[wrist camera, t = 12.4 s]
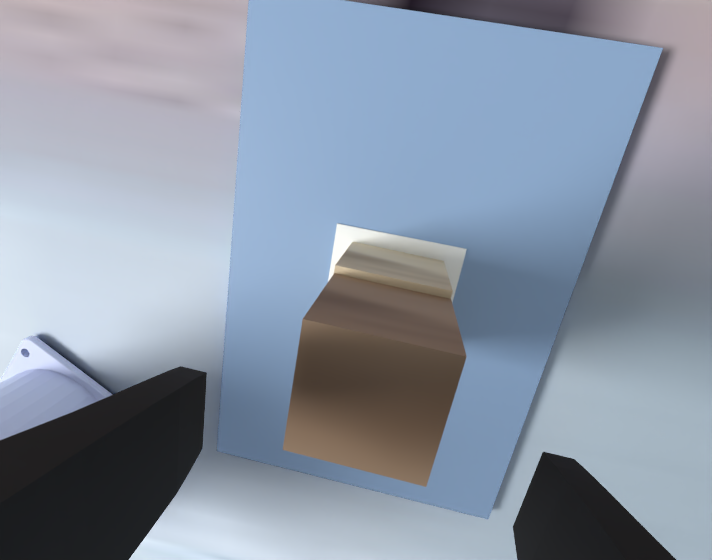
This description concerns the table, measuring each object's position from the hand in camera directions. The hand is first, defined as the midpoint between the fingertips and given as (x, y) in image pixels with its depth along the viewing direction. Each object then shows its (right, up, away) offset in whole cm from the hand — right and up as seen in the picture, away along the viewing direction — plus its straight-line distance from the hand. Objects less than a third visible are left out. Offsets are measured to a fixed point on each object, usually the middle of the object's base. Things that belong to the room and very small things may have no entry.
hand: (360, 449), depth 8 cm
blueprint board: (+1, +3, +10) cm, 10 cm away
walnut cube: (+1, +2, +5) cm, 6 cm away
